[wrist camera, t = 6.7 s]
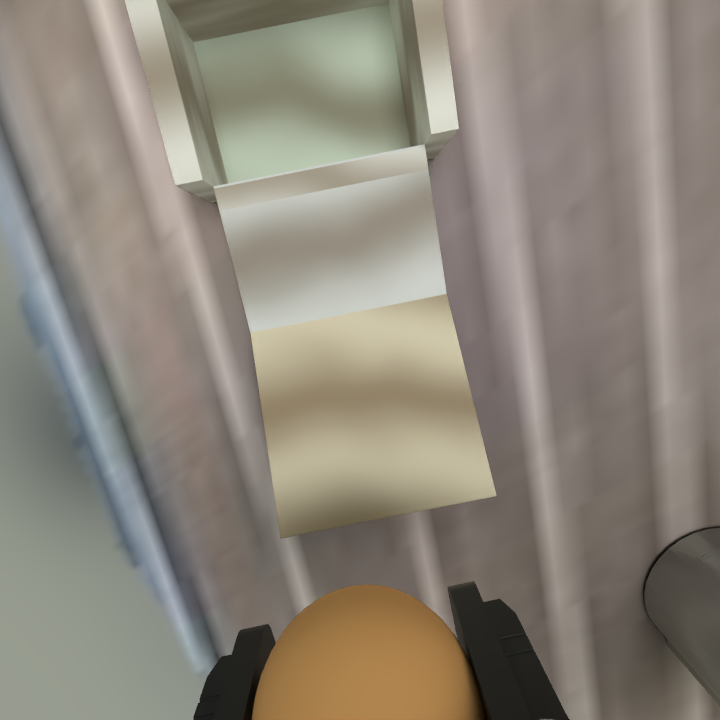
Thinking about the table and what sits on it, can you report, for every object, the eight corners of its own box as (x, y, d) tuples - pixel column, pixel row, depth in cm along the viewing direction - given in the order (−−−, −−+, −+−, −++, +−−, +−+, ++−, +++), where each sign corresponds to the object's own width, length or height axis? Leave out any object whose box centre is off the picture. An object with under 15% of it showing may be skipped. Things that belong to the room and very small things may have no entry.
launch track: (473, 435, 26) (528, 506, 19) (281, 473, 26) (255, 560, 19) (406, -34, 21) (444, -214, 13) (162, 15, 21) (55, -135, 13)
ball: (435, 523, 11) (507, 721, 6) (465, 675, 12) (547, 946, 7) (252, 562, 11) (179, 789, 6) (297, 709, 12) (264, 1003, 7)
